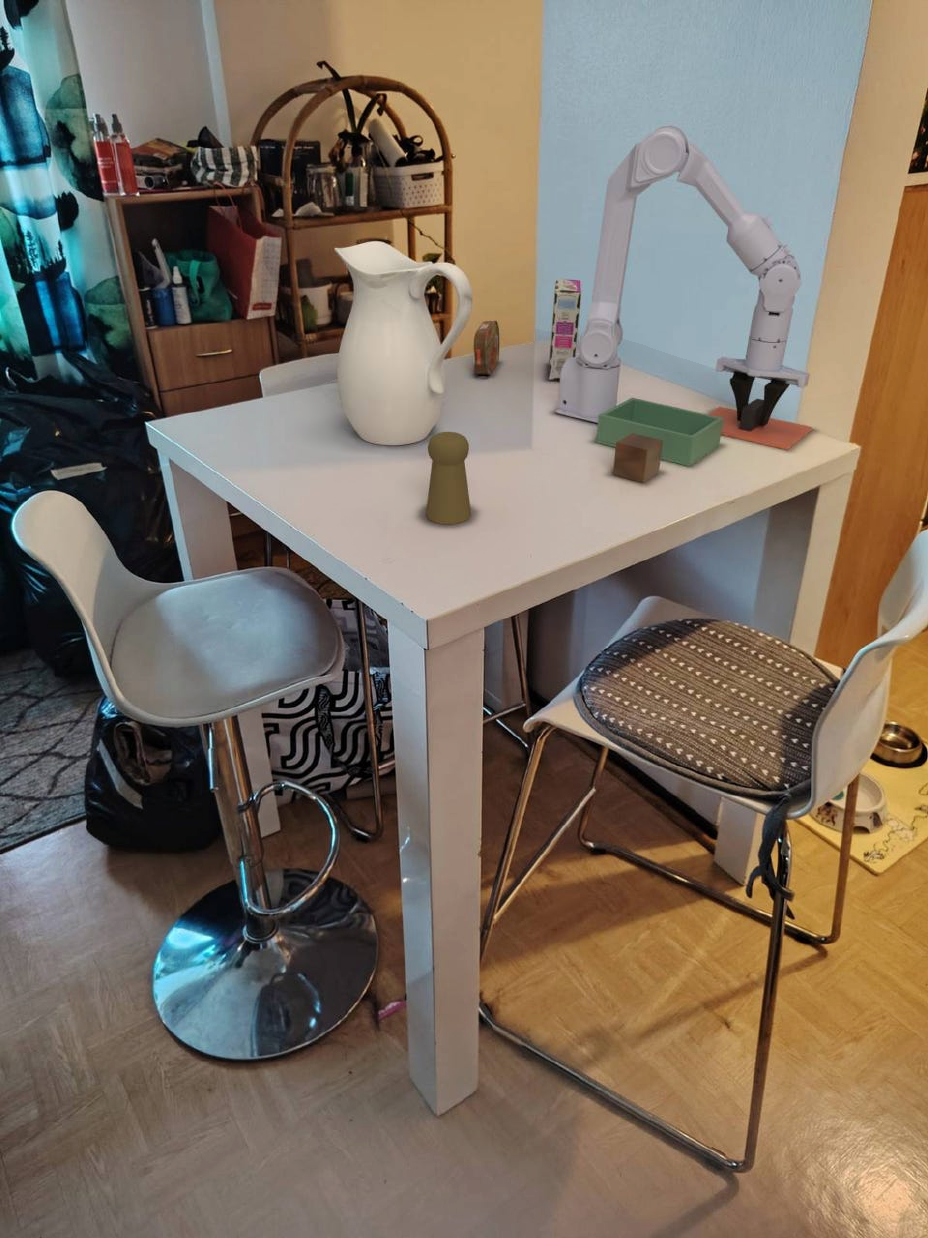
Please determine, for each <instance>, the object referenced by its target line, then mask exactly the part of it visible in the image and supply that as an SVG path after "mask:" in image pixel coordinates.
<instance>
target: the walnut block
mask: <svg viewBox="0 0 928 1238" xmlns="http://www.w3.org/2000/svg"><path fill="white" fill-rule="evenodd" d="M662 446H663V440H659V439H655V438H651V437H647V436H643V435H639V434H635V433H631V434H630V435H628V436H626V437H624V438H623V439H621V440H619V441H618V442H616V447H614V448H615V449H614V458H613V466H612V467H613V468H612V476H615V477H619V478H622V479H627V480H631V481H634V482H636V483H637V482H638V483H641V484H644V483H646V482H648V481H649V480H651V478H653V477H654V476H656V475H658V474H659V473H660V467H661V460H662V459H661V453H662Z"/></svg>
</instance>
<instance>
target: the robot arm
mask: <svg viewBox="0 0 928 1238" xmlns="http://www.w3.org/2000/svg"><path fill="white" fill-rule="evenodd" d="M676 173H679V174H678V176H677V178H676V179H675V180H676V182H679V183H682V184H685V185H689V186H692V187H694V188H695V189H696V190H697V191H698V192H699V194H700V195H701V196H702V197H703V198H704V199H705V201H706V202H707V204H708V205H709V206H710V207H711V209H713V211H714V212H715V213H716V214H717V216H718V217H719V218H720V219H721V220H722V222H723V223H724V224H725V225H726V227H727V234H726V243H727V244H728V246H729V247H730V249H732V250H733V252H734V253H735V255H736V257H738V259H739V260H740V262H741V263H742V264H743V265H744V266H745V268H746V269H747V271H748V272H749V273H750V274H751V275H754V276H756V277H757V279H758V280H757V281H758V286H759V290H758V294H757V295H758V296H757V301H756V304H755V305H754V308H753V313H752V318H751V325H750V329H749V330H750V331H749V336H748V342H747V347H746V351H745V352H746V353H745V358H733V357H727V356H721V357H719V358H717V360H716V367H715V372H720V373H722V372H723V373H724V372H726V373H731V374H732V377H730V378H729V385H730V387H731V389H732V393H733V396H734V400H735V406H736V408H735V409H736V411H737V421H741V415H742V410H743V407H745V406H746V405H748V404H749V403H750V396H751V393H752V390H753V385H754V382H755V379H756V378H757V379H761V380H766V381H770V382H768V383H766V384H764V387H763V400H764V402H763V409H762V413H761V417H760V424H759V426H765V425H766V424H768V421H769V418H771V416H772V414H773V411H774V410H775V408H776V405H777V404H778V402H779V401H780V399H781V398H782V396H783V394H784V393H785V392H786V391H787V390H788V388H789V386H790V385H792V386H796V387H797V388H801V389H804V388H805V387H807V386H808V384H809V381H810V380H809V379H810V377H811V376H810V375H811V373H810V372H806V371H802V370H799V369H795V368H792V367H790V366H786V365H784V364H783V362H784V358H785V353H786V348H787V342H788V338H789V333H790V327H791V323H792V317H793V312H794V309H793V305H794V303H795V299H796V296H795V295H796V294H797V293H798V292H799V290H800V288H801V285H802V281H801V279H802V277H801V270H800V268H799V265H798V262H797V261H796V258H795V256H794V255H793V254H791V253H790V252H791V248H790V246H789V245H788V244H785V245H783V243H782V242H781V241H780V239H779V238H778V236H777V235H776V233H774V231H773V230H772V228H771V226H772V225H773V222H772V221H771V220H770V218H769V217H768V216H765V217H764V218H763V216H762V215H761V214H760V213H759V212H748V211H746V210H745V208H744V207H743V206H742V205H741V203H740V201H739V200H738V198H736V196H735V194H734V193H733V192H732V189H730V187H729V186H728V184H727V183H726V181H725V180H724V178H723V176H722V175H720V173H719V172H718V170H717V168H716V167H715V165H714V164H713V162H711V160H710V159H709V157H708V156H706V154H705V153H704V152H703V151H702V150H701V149H700V148H699V147H698V146H697V145H696V144H695V143H694V142H693V141H692V140H690V141H689V140H688V138H687V135H686V134H685V132H684V131H683V130H682V129H681V128H679V127H678V126H675V125H669V124H668V125H662V126H660V127H658V128H657V129H655V130H653V131H652V132H650V133H649V134H648V135H646V136H645V137H643V138H642V139H641V140H639V141H638V142H637V143H635V145H634V146H633V147H632V149H631V150H630V151H629V153H628V154H627V155H626V156H625V158H624V159H623V160H622V161H621V163H620V164H619V165H618V166H617V168H616V169H615V170H614V172H612V174H611V175H610V177H609V178H608V181H607V186H606V191H605V192H606V193H605V199H604V200H605V201H604V207H603V215H602V220H601V221H602V223H601V230H600V236H599V237H600V238H599V244H598V245H599V246H598V252H597V260H596V267H595V273H594V274H595V275H594V283H593V289H592V297H591V304H590V307H589V311H588V315H587V319H586V327H585V329H584V331H583V333H582V334H581V336H580V337H579V339H578V341H577V351H578V355H577V357H571V358H569V359H568V360H567V361H566V362H565V363H564V365H563V368H562V370H561V375H560V381H559V387H558V401H557V408H556V409H555V413H556V414H559V415H563V416H566V417H572V418H575V419H580V420H584V421H587V422H592V423H595V424H598V418H599V415H600V414H602V413H604V412H606V411H608V410H609V409H611V408H613V407H615V406H617V400H618V391H619V382H620V373H621V372H620V371H621V362H622V359H621V358H620V357H619V355H618V353H617V352H618V347H619V346H620V344H621V343H622V340H623V336H624V332H623V331H624V330H623V327H622V324H621V319H620V318H621V311H622V297H623V292H624V285H625V284H624V283H625V278H626V270H627V264H628V259H629V251H630V244H631V237H632V232H633V225H634V218H635V211H636V204H637V198H638V196H639V195H640V194H641V193H642V192H644V191H645V190H647V189H649V187H650V186H651V185H653V184H654V183H657V182H660V181H662V180H665V179H667V178H670V177H672V176H673V175H675V174H676Z"/></svg>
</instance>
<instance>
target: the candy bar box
mask: <svg viewBox="0 0 928 1238" xmlns="http://www.w3.org/2000/svg"><path fill="white" fill-rule="evenodd" d="M554 283H555V284H554V292H553V293H554V294H553V306H552V318H551V319H552V321H551V333H550V334H551V335H550V346H549V347H550V349H549V361H548V380H549V381H554V382H555V381H557V382H560V375H561V370H562V368H563V365H564V363H565V362H566V361H567V360H568V359H569V358H571V357H576V356H577V348H578V337H579V336H578V335H579V334H578V333H579V324H580V314H581V313H580V312H581V300H582V289H581V288H582V285H581V284H582V283H581V280H579V279H561V278H560V279H557V278H556V279H555V282H554Z"/></svg>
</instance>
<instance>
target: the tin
mask: <svg viewBox="0 0 928 1238" xmlns="http://www.w3.org/2000/svg"><path fill="white" fill-rule="evenodd" d="M473 352H474V353H473V354H474V355H473V356H474V371H475V374H476V375H478V376H482V375H483V376H491V375H492V374H493V372H494V370H495V368H496V366H497V364H498V363H499V357H500V328H499V323H498V321H497V320H486V321H483V322H482V323H481V324H480V325H479V327H478V329H476V331H475V333H474V336H473Z"/></svg>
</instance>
